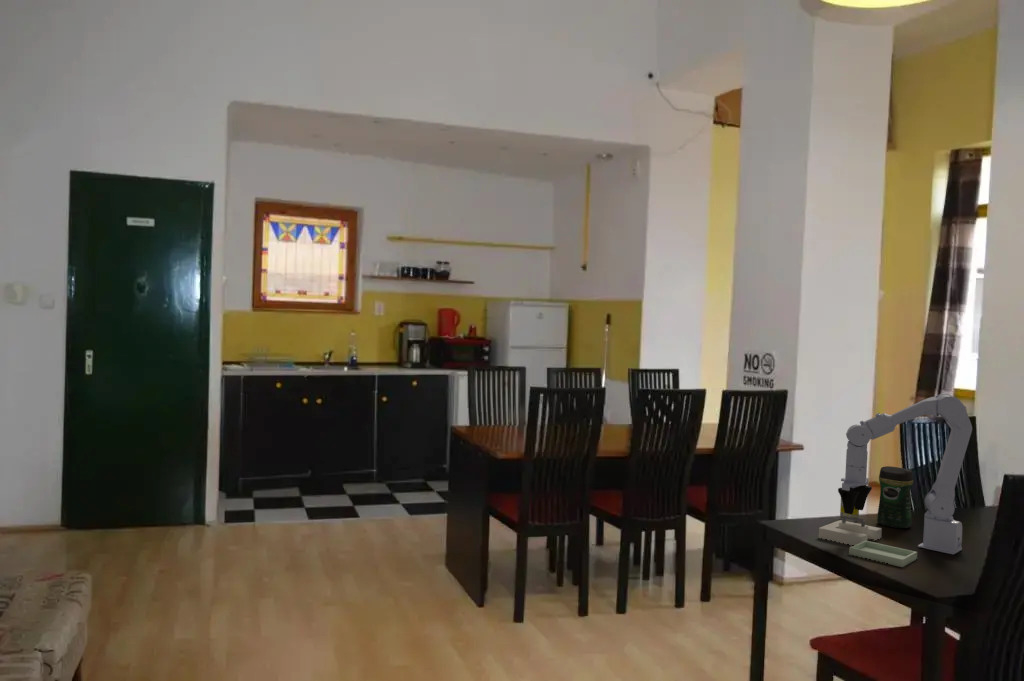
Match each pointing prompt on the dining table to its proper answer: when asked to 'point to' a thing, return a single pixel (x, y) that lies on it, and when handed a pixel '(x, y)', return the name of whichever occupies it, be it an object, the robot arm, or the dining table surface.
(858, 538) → the bay
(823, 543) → the dining table surface
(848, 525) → the block with grey handle
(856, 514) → the supplement bottle
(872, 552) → the tray
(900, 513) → the coffee jar
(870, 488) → the robot arm
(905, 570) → the dining table surface
